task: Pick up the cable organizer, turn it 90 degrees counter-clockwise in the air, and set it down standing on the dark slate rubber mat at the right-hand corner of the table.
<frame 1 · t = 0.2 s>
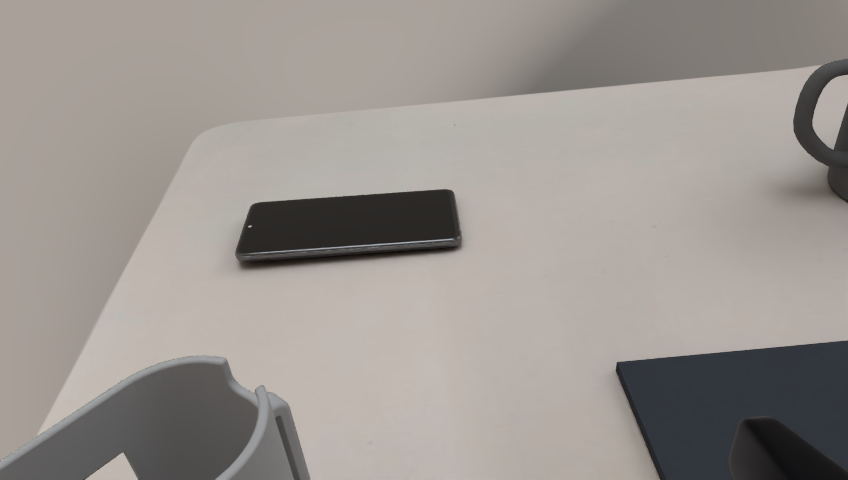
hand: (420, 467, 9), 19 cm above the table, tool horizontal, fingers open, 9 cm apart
smartphone: (352, 232, 48), on the table
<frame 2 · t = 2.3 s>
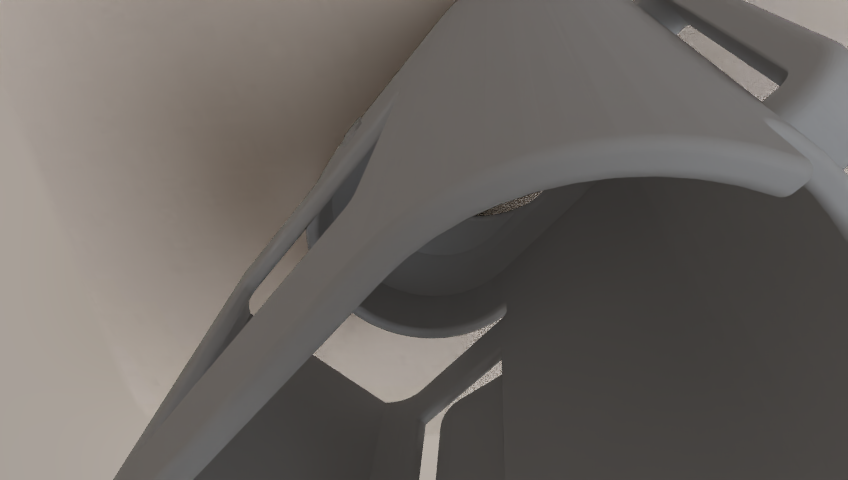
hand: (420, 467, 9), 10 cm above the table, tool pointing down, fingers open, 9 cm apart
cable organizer: (447, 176, 18), on the table, touching gripper
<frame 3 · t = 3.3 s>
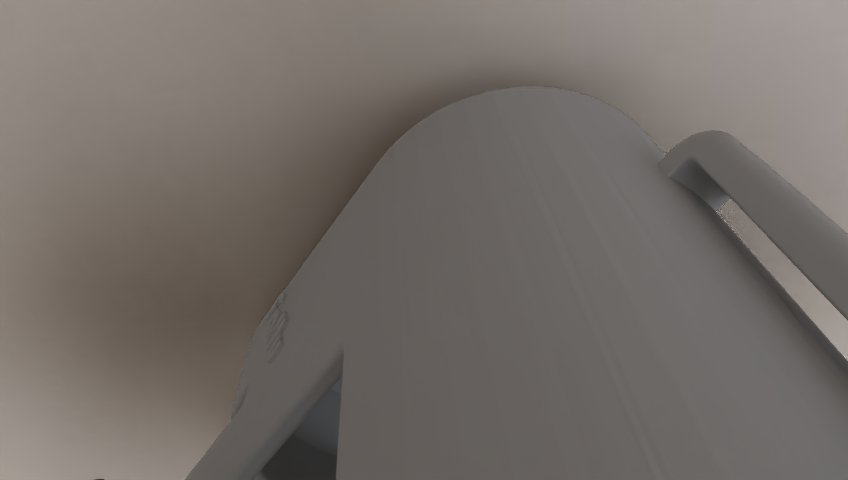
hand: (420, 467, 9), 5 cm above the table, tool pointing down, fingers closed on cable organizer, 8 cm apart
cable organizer: (404, 317, 14), on the table, touching gripper
when the fingers open (6 cm above the table, at t = 10.9 s): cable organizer stays where it is, resting on mat.
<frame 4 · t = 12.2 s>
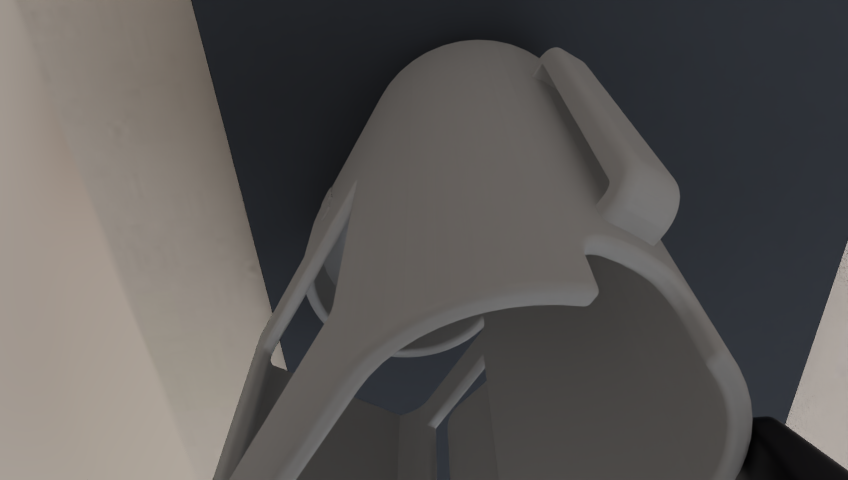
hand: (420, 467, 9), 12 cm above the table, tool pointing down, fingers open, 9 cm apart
mat: (554, 254, 22), on the table
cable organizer: (415, 214, 21), point 1 cm above the table, touching gripper, mat
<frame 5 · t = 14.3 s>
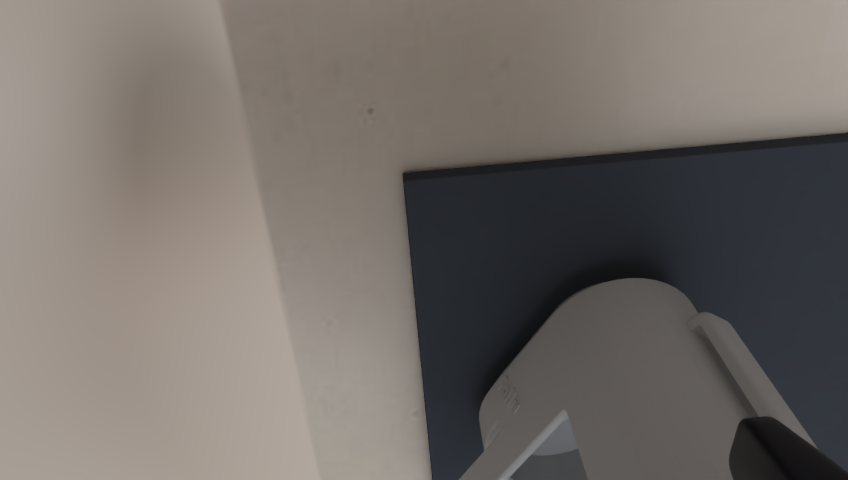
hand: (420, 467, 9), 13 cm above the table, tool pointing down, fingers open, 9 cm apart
mat: (658, 400, 28), on the table
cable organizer: (554, 376, 26), resting on mat
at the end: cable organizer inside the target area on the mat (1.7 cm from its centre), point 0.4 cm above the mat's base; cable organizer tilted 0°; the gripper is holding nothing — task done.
